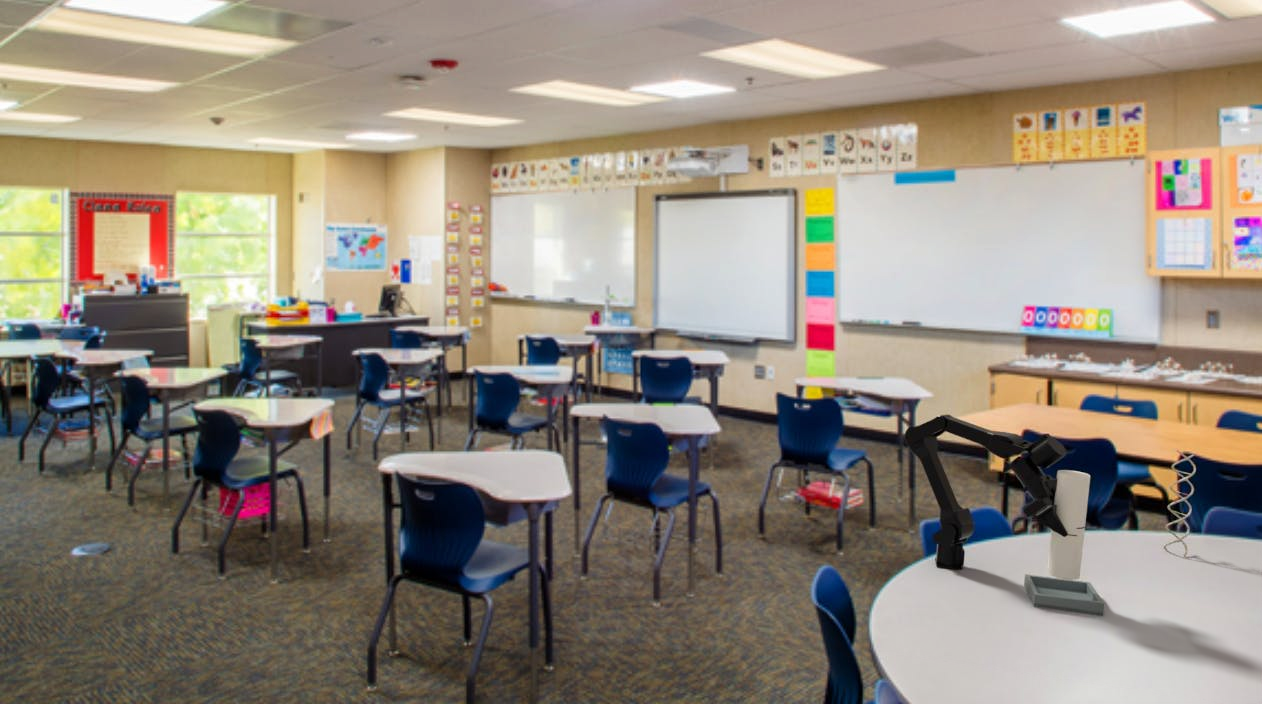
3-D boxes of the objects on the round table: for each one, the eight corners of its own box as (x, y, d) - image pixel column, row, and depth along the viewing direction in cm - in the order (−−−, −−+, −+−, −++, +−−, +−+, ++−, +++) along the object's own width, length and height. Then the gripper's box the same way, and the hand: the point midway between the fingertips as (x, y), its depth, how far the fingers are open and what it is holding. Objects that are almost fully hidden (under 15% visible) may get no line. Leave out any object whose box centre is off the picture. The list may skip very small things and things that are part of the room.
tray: (1033, 606, 211) (1034, 594, 210) (1023, 585, 225) (1024, 574, 225) (1103, 615, 207) (1104, 603, 206) (1088, 593, 221) (1090, 582, 221)
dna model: (1156, 550, 260) (1166, 449, 257) (1173, 549, 262) (1183, 449, 259) (1176, 557, 254) (1187, 454, 251) (1193, 556, 256) (1204, 454, 253)
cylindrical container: (1086, 578, 213) (1097, 476, 210) (1062, 580, 211) (1073, 477, 208) (1063, 568, 220) (1074, 469, 217) (1040, 570, 218) (1050, 470, 215)
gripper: (1040, 464, 210) (1083, 522, 202) (1075, 456, 222) (1117, 510, 214) (1004, 489, 216) (1045, 546, 209) (1040, 480, 228) (1080, 533, 221)
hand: (1073, 533), depth 213 cm, fingers closed on cylindrical container, 7 cm apart
